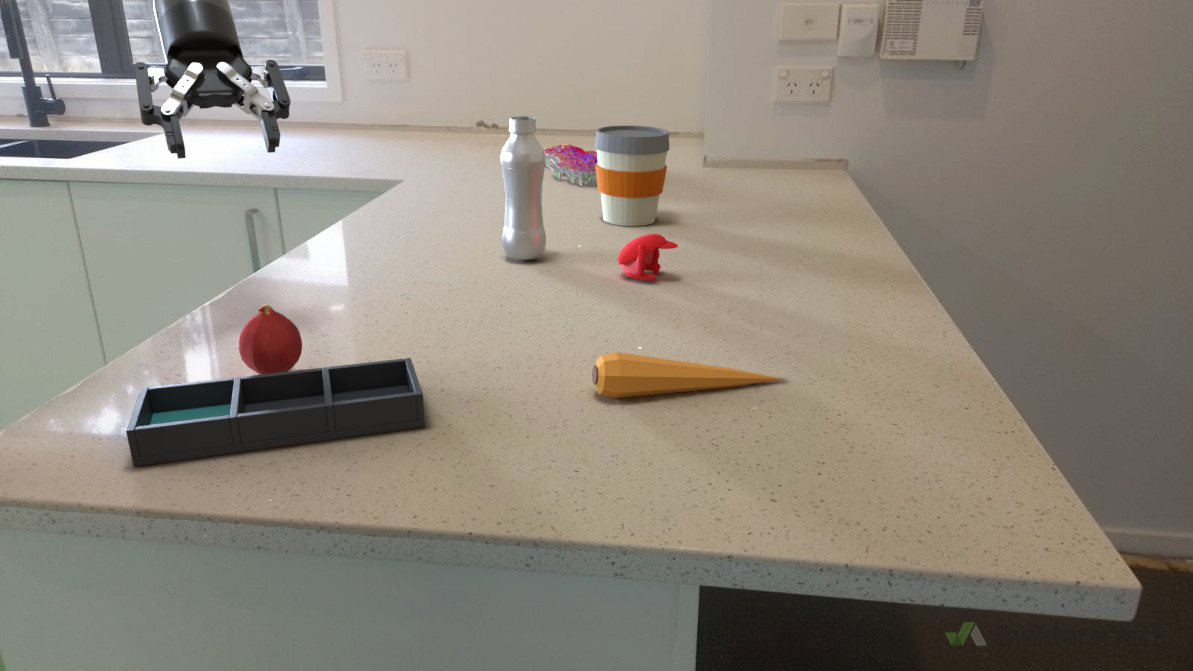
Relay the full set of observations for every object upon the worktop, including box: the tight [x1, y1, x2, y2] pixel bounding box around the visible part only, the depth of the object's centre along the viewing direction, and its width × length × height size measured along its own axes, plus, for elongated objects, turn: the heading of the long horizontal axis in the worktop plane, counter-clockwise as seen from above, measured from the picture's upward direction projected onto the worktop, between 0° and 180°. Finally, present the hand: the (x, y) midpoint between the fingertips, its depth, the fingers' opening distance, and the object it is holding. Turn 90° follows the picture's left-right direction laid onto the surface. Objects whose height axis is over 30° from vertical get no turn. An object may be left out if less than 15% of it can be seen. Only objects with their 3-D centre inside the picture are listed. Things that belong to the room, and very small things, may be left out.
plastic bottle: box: [499, 115, 547, 261], centre depth 119 cm, size 6×7×20 cm
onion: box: [238, 303, 303, 375], centre depth 82 cm, size 6×6×8 cm
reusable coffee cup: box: [594, 125, 670, 227], centre depth 142 cm, size 13×13×15 cm
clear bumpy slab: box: [543, 143, 598, 187], centre depth 180 cm, size 30×15×5 cm, turn 15°
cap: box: [617, 233, 679, 282], centre depth 115 cm, size 8×6×6 cm
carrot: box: [591, 351, 784, 399], centre depth 83 cm, size 20×4×4 cm, turn 102°
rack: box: [125, 357, 426, 467], centre depth 74 cm, size 23×8×3 cm, turn 109°
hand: (228, 150), depth 85 cm, fingers open, 8 cm apart
